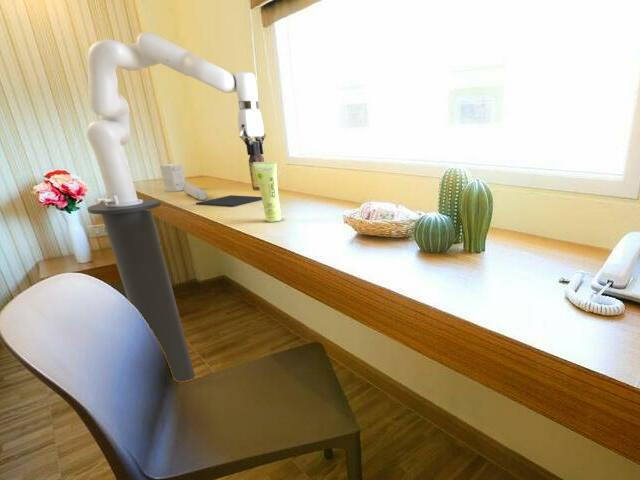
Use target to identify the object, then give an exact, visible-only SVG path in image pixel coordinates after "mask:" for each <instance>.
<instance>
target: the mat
mask: <svg viewBox="0 0 640 480" xmlns="http://www.w3.org/2000/svg"><path fill="white" fill-rule="evenodd" d="M258 201H262V197H261V196H254V195H253V196H251V195H232V194H231V195H230V194H229V195H226V196H222V197H217V198H213V199H207V200H201V201H199V202H195V205H199V206H215V207H229V208H233V207H237V206H241V205H246V204H249V203H253V202H258Z"/></svg>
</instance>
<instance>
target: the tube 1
mask: <svg viewBox="0 0 640 480" xmlns="http://www.w3.org/2000/svg"><path fill="white" fill-rule="evenodd" d="M182 191H183V193H184V194H187V195H189V196H191V197H192V198H195V199H196V200H198V201H206V199H207V197H208V194H207V191H205V190H203V189H202V188H199V187H197V186H195V185H194V184H192V183H186V184H185V185H184V187H183V190H182Z"/></svg>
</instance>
